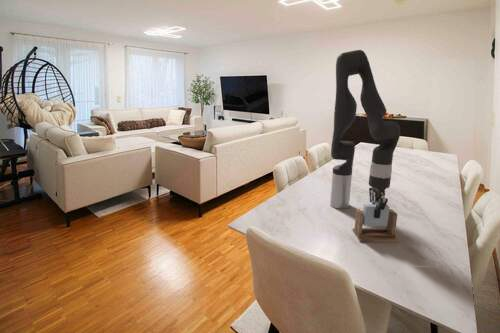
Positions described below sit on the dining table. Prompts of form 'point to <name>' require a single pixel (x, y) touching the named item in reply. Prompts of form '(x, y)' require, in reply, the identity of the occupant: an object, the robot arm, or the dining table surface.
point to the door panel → (369, 215)
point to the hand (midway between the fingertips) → (375, 216)
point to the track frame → (376, 229)
